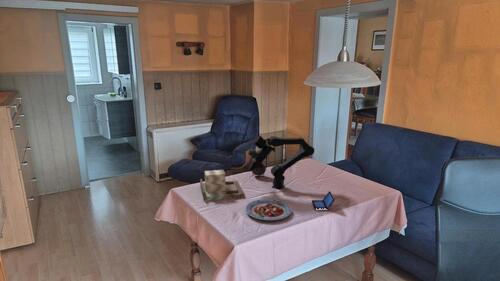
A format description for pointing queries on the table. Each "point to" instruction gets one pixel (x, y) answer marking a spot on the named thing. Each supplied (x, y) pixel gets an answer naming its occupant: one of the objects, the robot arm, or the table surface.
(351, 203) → the table surface
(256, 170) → the alarm clock
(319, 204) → the handheld game console
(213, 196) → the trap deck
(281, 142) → the robot arm
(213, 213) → the table surface
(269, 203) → the ceramic plate
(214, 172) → the birch block
